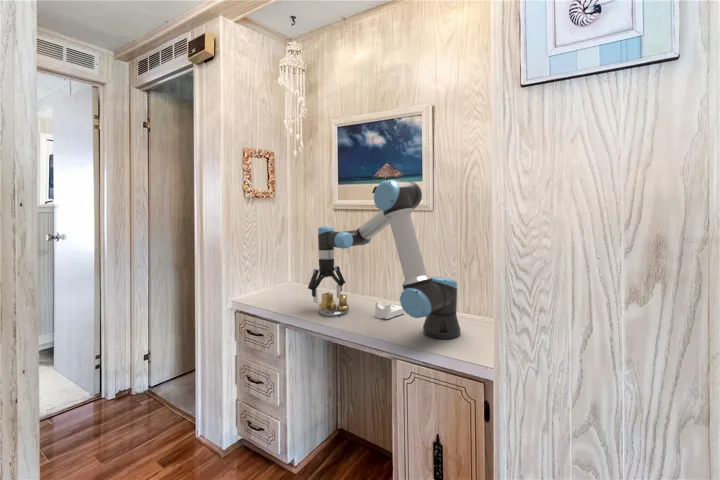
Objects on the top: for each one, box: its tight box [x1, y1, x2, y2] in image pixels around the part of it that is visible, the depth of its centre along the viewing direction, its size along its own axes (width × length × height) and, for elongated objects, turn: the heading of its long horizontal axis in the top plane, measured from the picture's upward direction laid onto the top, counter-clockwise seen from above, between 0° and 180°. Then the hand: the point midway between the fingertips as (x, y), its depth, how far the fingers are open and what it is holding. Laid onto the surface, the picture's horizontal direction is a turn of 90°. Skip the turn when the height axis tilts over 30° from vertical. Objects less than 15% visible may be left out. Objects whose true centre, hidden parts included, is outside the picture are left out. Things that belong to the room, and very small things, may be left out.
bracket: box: [375, 300, 406, 320], centre depth 175 cm, size 13×7×8 cm, turn 134°
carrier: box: [319, 293, 350, 318], centre depth 180 cm, size 13×14×9 cm
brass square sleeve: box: [318, 292, 337, 310], centre depth 184 cm, size 6×6×7 cm
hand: (327, 300), depth 184 cm, fingers open, 13 cm apart
